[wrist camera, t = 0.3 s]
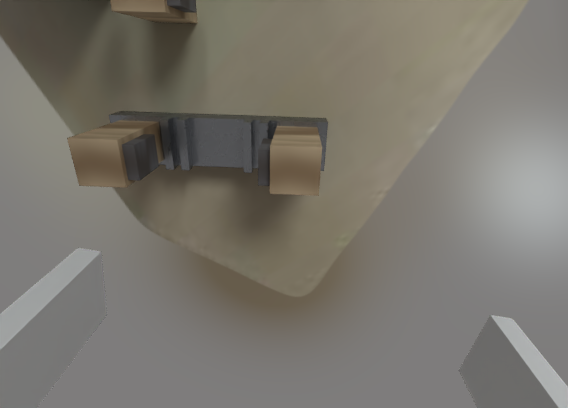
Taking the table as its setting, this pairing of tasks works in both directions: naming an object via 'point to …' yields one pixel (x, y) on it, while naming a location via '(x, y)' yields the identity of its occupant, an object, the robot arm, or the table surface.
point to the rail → (218, 137)
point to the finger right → (291, 161)
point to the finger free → (158, 10)
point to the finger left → (116, 153)
